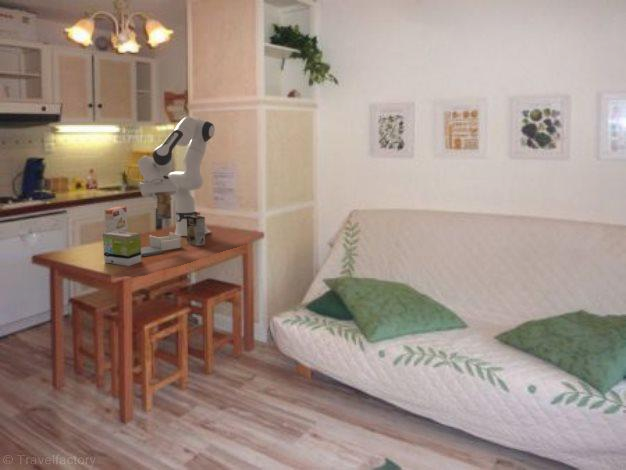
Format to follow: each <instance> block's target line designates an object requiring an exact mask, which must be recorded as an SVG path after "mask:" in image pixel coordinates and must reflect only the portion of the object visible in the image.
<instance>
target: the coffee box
mask: <svg viewBox="0 0 626 470" xmlns="http://www.w3.org/2000/svg"><path fill="white" fill-rule="evenodd" d="M205 223H206V220H205V216H201V215H191V216H187V236H186V237H187V238H186V241H187V244H189V245H192V246H195V247H199V246H204V245H206V234H205Z"/></svg>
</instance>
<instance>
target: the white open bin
mask: <svg viewBox="0 0 626 470" xmlns="http://www.w3.org/2000/svg"><path fill="white" fill-rule="evenodd" d="M148 238H149V239H148V241H149V242H148V243H149V246H151V247H154V248H157V249H160V250H163V252H164V251H169V250H175V249H182V236H181V235H178V234H175V232H171V231H170V232H169V234H168V236H167V235H166V236H159V237H158V236H154V235H151V234H150V235H148Z"/></svg>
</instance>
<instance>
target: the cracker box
mask: <svg viewBox="0 0 626 470" xmlns="http://www.w3.org/2000/svg"><path fill="white" fill-rule="evenodd" d="M127 210H128V209H127V207H126V206H114V207H111V208H107V209H104V225H105V227H104V228H105V234H106V233H110V232H113V231H123V232H128V216H127V215H128V213H127Z"/></svg>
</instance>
